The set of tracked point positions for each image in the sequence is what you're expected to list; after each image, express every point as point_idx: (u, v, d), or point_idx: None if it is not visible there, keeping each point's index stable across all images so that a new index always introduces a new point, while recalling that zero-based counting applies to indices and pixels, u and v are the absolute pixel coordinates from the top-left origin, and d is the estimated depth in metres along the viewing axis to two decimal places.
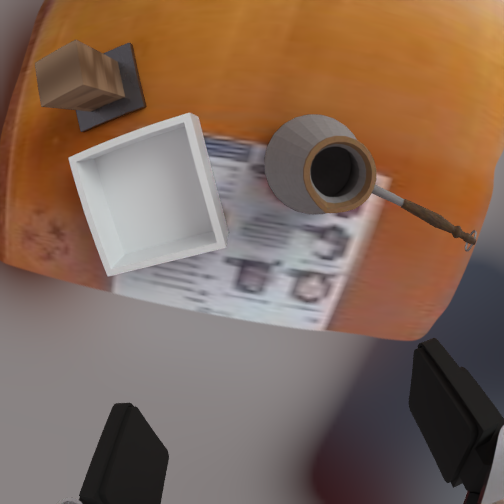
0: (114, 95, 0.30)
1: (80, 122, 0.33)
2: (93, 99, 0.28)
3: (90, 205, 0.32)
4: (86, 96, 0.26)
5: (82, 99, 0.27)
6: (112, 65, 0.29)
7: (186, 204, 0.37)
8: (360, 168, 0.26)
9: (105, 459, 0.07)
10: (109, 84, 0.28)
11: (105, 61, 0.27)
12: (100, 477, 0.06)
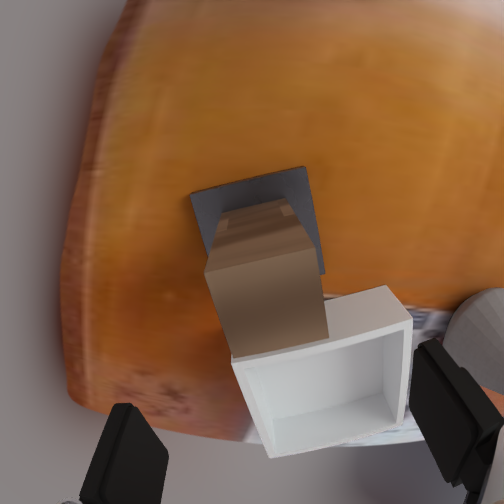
0: None
1: None
2: None
3: (258, 406, 0.26)
4: None
5: None
6: None
7: (356, 376, 0.31)
8: None
9: (105, 459, 0.07)
10: None
11: None
12: (100, 477, 0.06)
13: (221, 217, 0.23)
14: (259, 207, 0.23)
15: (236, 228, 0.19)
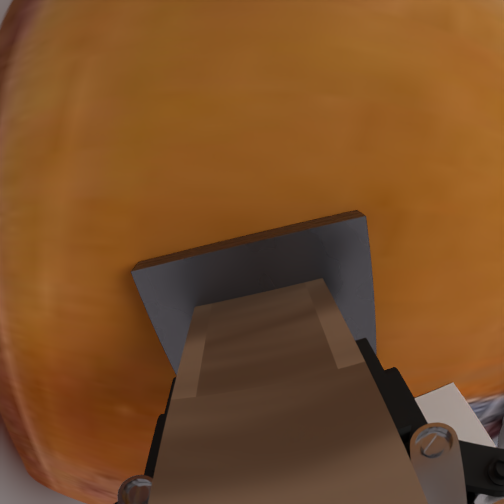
0: None
1: None
2: None
3: None
4: None
5: None
6: None
7: None
8: None
9: None
10: None
11: None
12: None
13: (192, 326, 0.11)
14: (271, 305, 0.11)
15: (219, 402, 0.07)
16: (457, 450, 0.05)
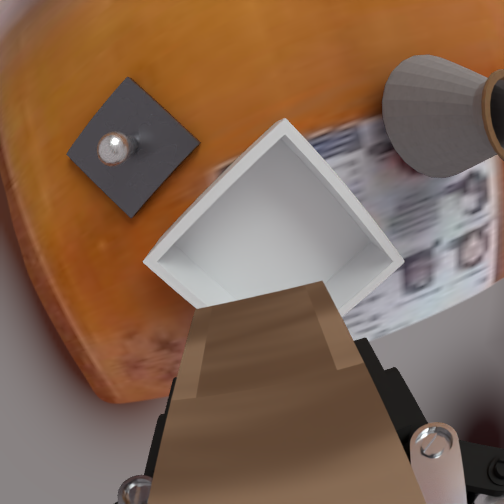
0: None
1: (123, 207, 0.27)
2: None
3: (208, 303, 0.25)
4: None
5: None
6: None
7: (320, 234, 0.28)
8: None
9: None
10: None
11: None
12: None
13: (192, 328, 0.11)
14: (271, 307, 0.11)
15: (219, 403, 0.07)
16: (458, 450, 0.05)
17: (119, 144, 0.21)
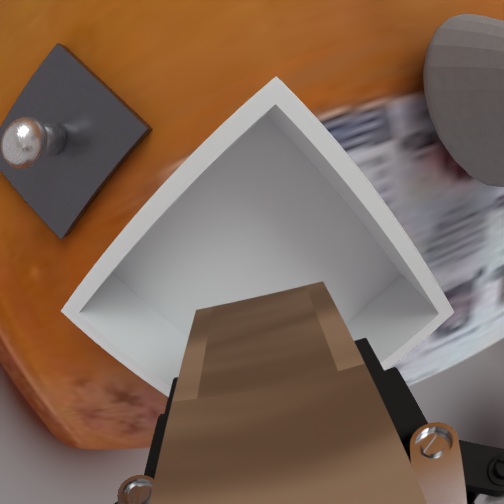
0: None
1: (50, 224, 0.17)
2: None
3: (159, 371, 0.16)
4: None
5: None
6: None
7: (330, 266, 0.19)
8: None
9: None
10: None
11: None
12: None
13: (193, 329, 0.11)
14: (272, 308, 0.11)
15: (220, 404, 0.07)
16: (457, 450, 0.05)
17: (24, 135, 0.12)
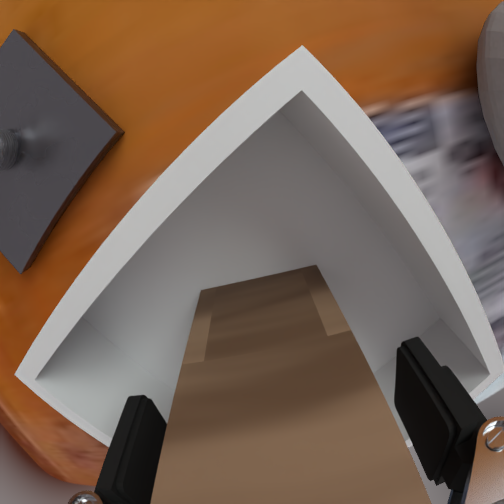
0: None
1: (8, 254, 0.13)
2: None
3: None
4: None
5: None
6: None
7: (358, 312, 0.14)
8: None
9: (122, 450, 0.07)
10: None
11: None
12: (117, 469, 0.06)
13: (199, 305, 0.12)
14: (270, 287, 0.12)
15: (225, 364, 0.08)
16: None
17: None
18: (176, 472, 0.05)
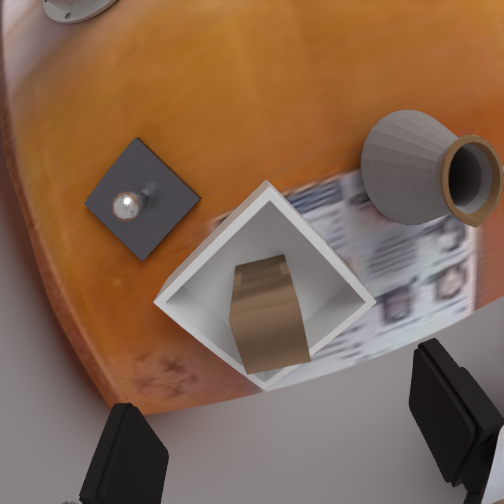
0: None
1: (135, 251, 0.32)
2: None
3: (208, 336, 0.30)
4: None
5: None
6: None
7: (305, 276, 0.33)
8: (479, 159, 0.19)
9: (105, 459, 0.07)
10: None
11: None
12: (100, 477, 0.06)
13: (235, 270, 0.31)
14: (264, 262, 0.31)
15: (248, 284, 0.27)
16: None
17: (131, 204, 0.26)
18: (236, 305, 0.24)
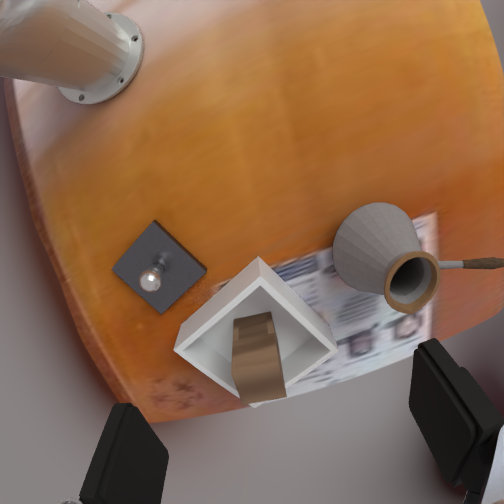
0: None
1: (155, 307, 0.41)
2: None
3: (214, 371, 0.39)
4: None
5: None
6: (273, 326, 0.40)
7: (286, 326, 0.42)
8: (423, 261, 0.29)
9: (105, 459, 0.07)
10: (279, 355, 0.39)
11: None
12: (100, 477, 0.06)
13: (234, 324, 0.40)
14: (255, 319, 0.40)
15: (243, 340, 0.37)
16: None
17: (155, 282, 0.35)
18: (235, 360, 0.33)
